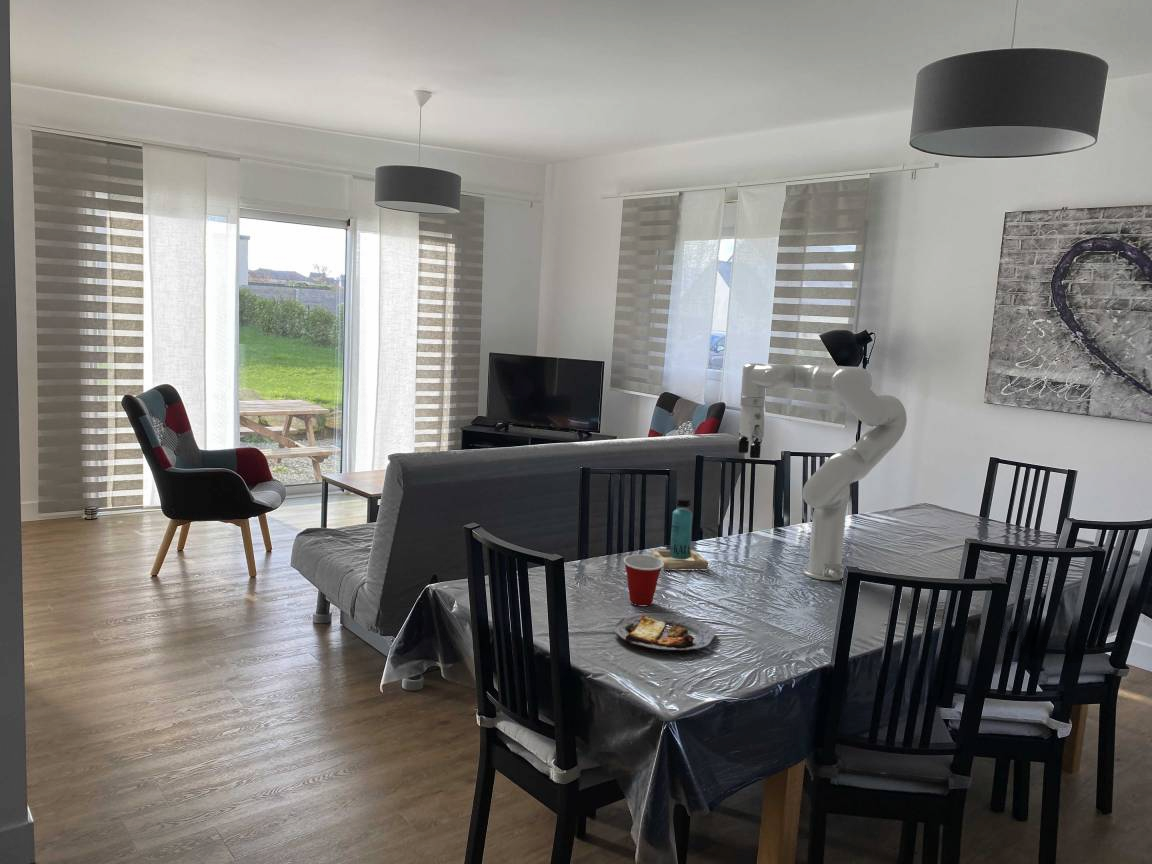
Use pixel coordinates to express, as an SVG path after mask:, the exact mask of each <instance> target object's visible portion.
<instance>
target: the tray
mask: <svg viewBox="0 0 1152 864" xmlns="http://www.w3.org/2000/svg"><path fill="white" fill-rule="evenodd" d="M650 551H651V553H650V554H651V555H652V556H653V557H656V558H659V559H660V560H662V561H663V563H664V565H663V568H664V569H708V568H709V562H708V561H707V560H706V559H705V558H704V557H703V556H702V555H700V554H699V553H698V552H697V551H695V550H694V549H691V551H690V552H691V553H690V557H689V558H688V559H675V558H672V557H671V556H670V549H652V550H650ZM651 555H650V556H651ZM708 570H709V569H708Z"/></svg>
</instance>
